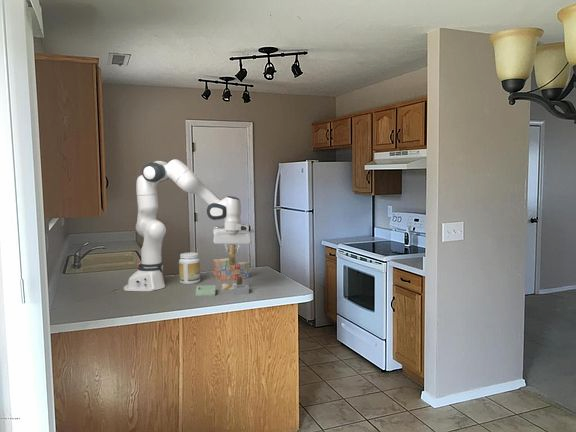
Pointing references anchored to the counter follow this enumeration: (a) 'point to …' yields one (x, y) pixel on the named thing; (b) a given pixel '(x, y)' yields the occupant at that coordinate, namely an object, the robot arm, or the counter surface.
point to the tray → (206, 290)
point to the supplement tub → (189, 268)
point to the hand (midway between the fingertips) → (232, 252)
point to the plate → (228, 286)
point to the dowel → (231, 254)
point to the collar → (241, 289)
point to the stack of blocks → (230, 269)
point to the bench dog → (239, 280)
